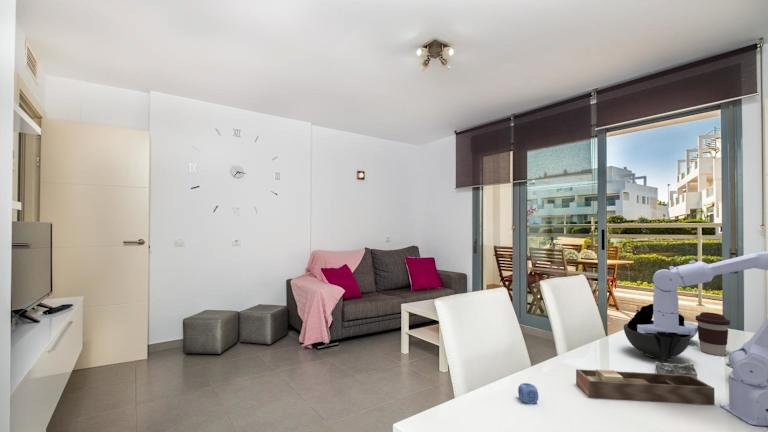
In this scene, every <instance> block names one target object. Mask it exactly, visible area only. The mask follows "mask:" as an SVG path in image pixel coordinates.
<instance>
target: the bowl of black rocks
mask: <svg viewBox="0 0 768 432" xmlns="http://www.w3.org/2000/svg"><path fill="white" fill-rule="evenodd" d="M639 309H640V310H638V311H637V312H636V313H635V314H634V316H632V318H631V319H630V320H629V321H628V322H627V323H625V324H623V331H624V334H625V336H626V339H627V340H628V341H629V344H631V345H632V346H633V347H634V348H635V349H636V350H637V351H639V352H641V353H642V354H644V355H646V356H648V357H651V358H656V359H662V358H661V354H660V351H659V348H658V345H657V343H656V341H655V339H654V337H653V336H652V334H651V333H640V332H638V331H637V325H647V324H653V303H650V304H647V305H643V306H642V307H640V308H639ZM684 321H685V317H684V315H682V314H681V313H679V326H685V325H684ZM678 336H681V341H680V342H679V343H678V344H677V346H676V348H675V350H674V352H673V355H672V358H675V357H677V356H679V355H681V354H682V353H684V352H685V351H686V349H688V347H689V345H690V342H691V339H692V338H691V336H690V335H688V334H678ZM690 338H691V339H690Z"/></svg>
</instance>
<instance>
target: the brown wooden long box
mask: <svg viewBox="0 0 768 432" xmlns="http://www.w3.org/2000/svg"><path fill="white" fill-rule="evenodd" d="M614 371H615V372H617V373H618V374H619V375H621V376H622V377H623V382H610V381H599V380H598V379H597V378H596V369H578V368H577V369H575V376H576V378H575V380H576V381H575V385H576V386H577V387H578V388H579V389H580V390H582V392H583V393H585V395H586V396H588V398H589V399H607V400H608V399H609V400H621V401H624V400H625V401H639V402H655V403H656V402H658V403H660V402H661V403H676V404H689V405H690V404H692V405H706V406H707V405H709V406H710V405H711V406H714V405H715V388H714V387H713V386H711V385H709V384H707V383H706V382H704V381H702V380H700V379H699V378H697V379H696V378H694V377H693V376H691V375H677V374H657V373H656V372H653V373H652V372H635V371H619V370H618V371H616V370H614Z"/></svg>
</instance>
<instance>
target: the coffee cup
mask: <svg viewBox="0 0 768 432" xmlns="http://www.w3.org/2000/svg"><path fill="white" fill-rule="evenodd" d="M695 321H697V324H696V325H697V327H698V331H697V334H698V335H697V336H698V337H697V338H698V340H699V348H700V349H699V350H700V351H701V352H702V353H705V354H708V355H712V356H719V355H720V356H722V355H723V356H725V355H726V354H727V345H728V339H729V338H728V337H729V329H728V327H729V326H730V325H731V321H730V319H728V318H726V317H725V315H723V314H721V313H716V312H709V311H708V312H706V311H703V312H700V313H699V314H698V315H695Z"/></svg>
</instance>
